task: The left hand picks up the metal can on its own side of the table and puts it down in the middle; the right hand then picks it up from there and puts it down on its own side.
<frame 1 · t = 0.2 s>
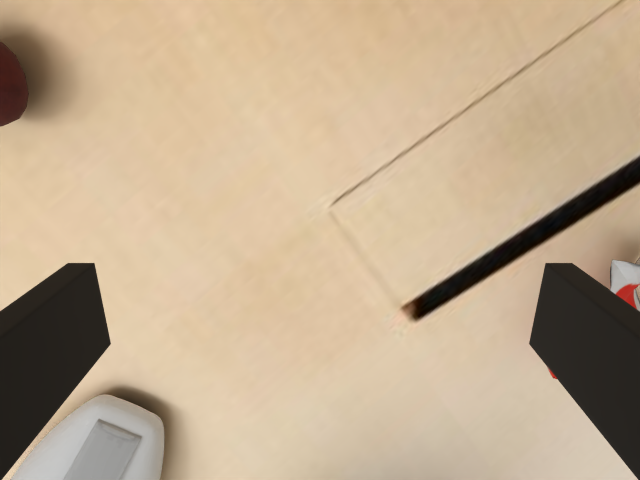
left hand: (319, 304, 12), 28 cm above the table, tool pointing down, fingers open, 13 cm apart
potato: (5, 79, 36), on the table
projector: (101, 459, 52), on the table
fish: (582, 289, 43), on the table
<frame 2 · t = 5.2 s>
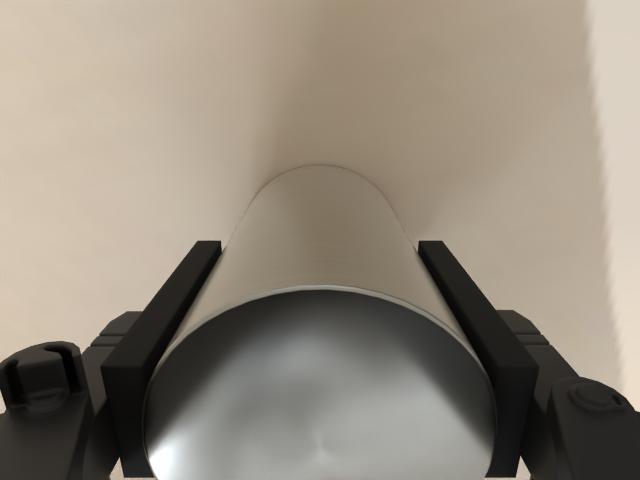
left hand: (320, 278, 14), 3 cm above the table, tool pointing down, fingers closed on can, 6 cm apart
can: (319, 243, 17), on the table, touching left hand
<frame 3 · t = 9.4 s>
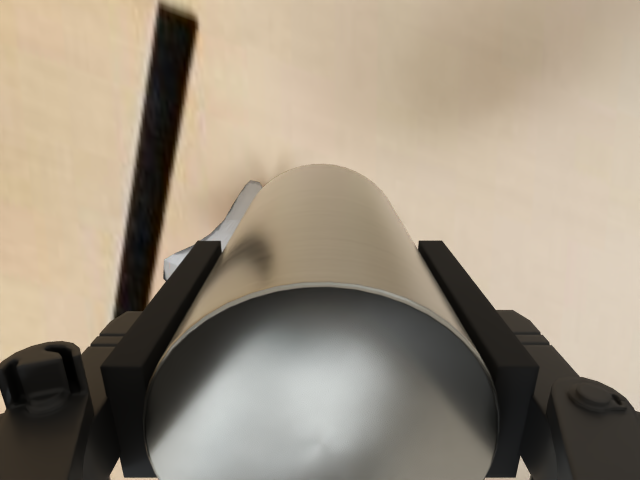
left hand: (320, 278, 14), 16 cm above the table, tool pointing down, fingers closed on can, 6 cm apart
can: (320, 242, 17), point 12 cm above the table, touching left hand
fish: (252, 277, 31), on the table
when the left hand's fingers open (5 cm above the table, at t = 13.9 s): can drops 2 cm, on the table.
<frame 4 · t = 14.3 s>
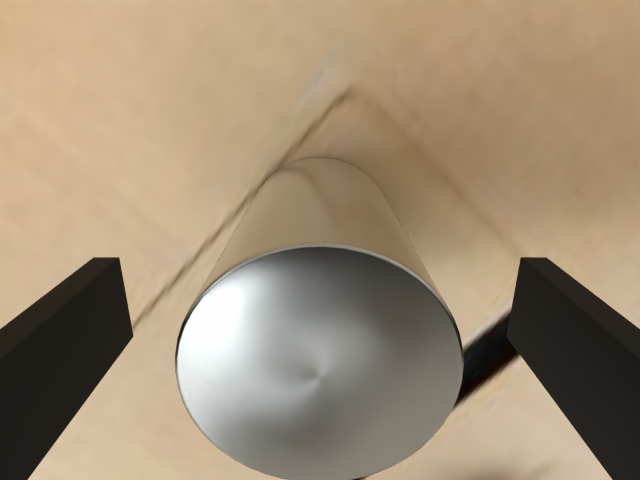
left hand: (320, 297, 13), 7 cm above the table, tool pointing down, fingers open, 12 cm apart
can: (319, 228, 19), on the table
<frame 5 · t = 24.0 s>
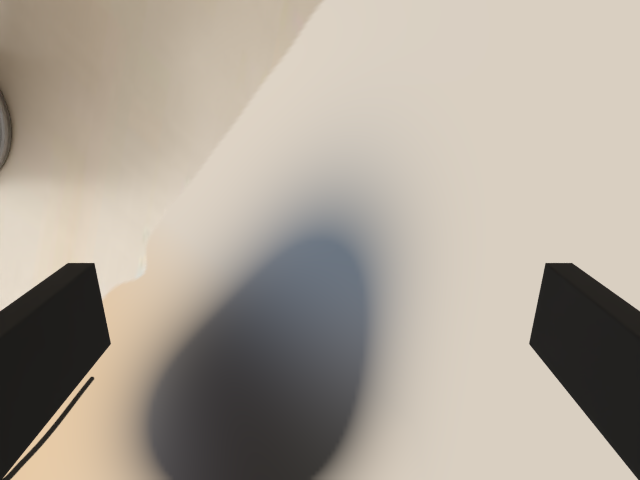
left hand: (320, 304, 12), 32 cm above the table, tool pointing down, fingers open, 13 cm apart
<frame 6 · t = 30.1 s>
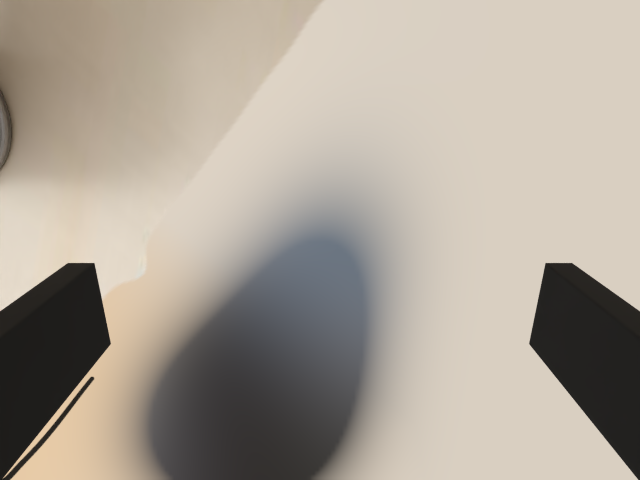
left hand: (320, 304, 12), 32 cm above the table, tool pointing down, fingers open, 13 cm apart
when the right hand's fingers open (5 cm above the table, at t = 36.0 s): can drops 2 cm, on the table.
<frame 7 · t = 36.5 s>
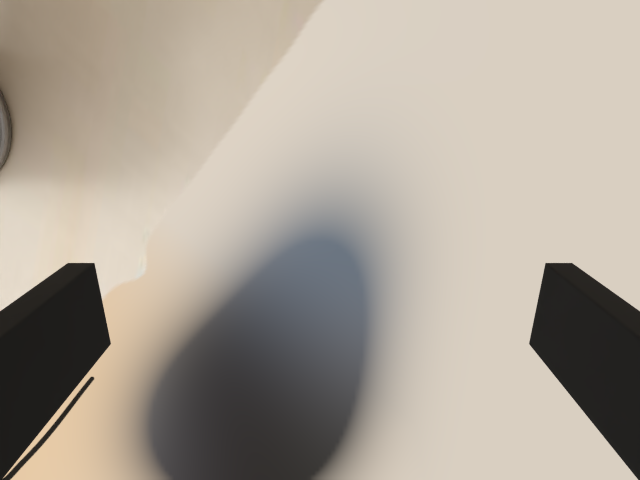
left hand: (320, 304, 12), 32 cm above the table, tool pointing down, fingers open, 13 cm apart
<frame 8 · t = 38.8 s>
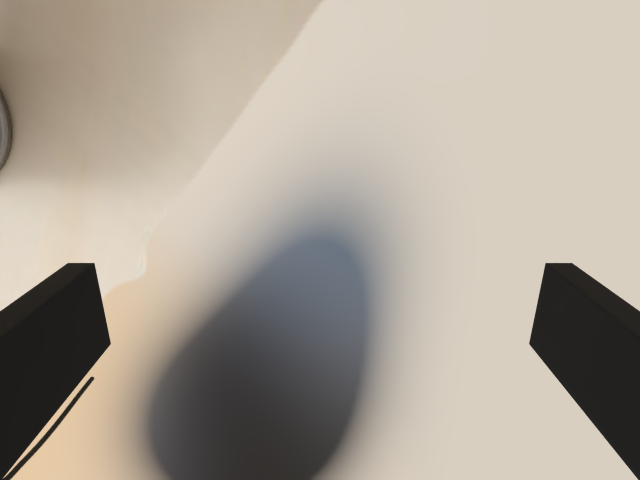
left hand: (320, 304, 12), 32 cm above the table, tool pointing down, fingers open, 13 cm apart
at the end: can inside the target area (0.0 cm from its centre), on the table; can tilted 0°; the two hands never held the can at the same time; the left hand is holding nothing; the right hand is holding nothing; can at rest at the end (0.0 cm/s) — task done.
